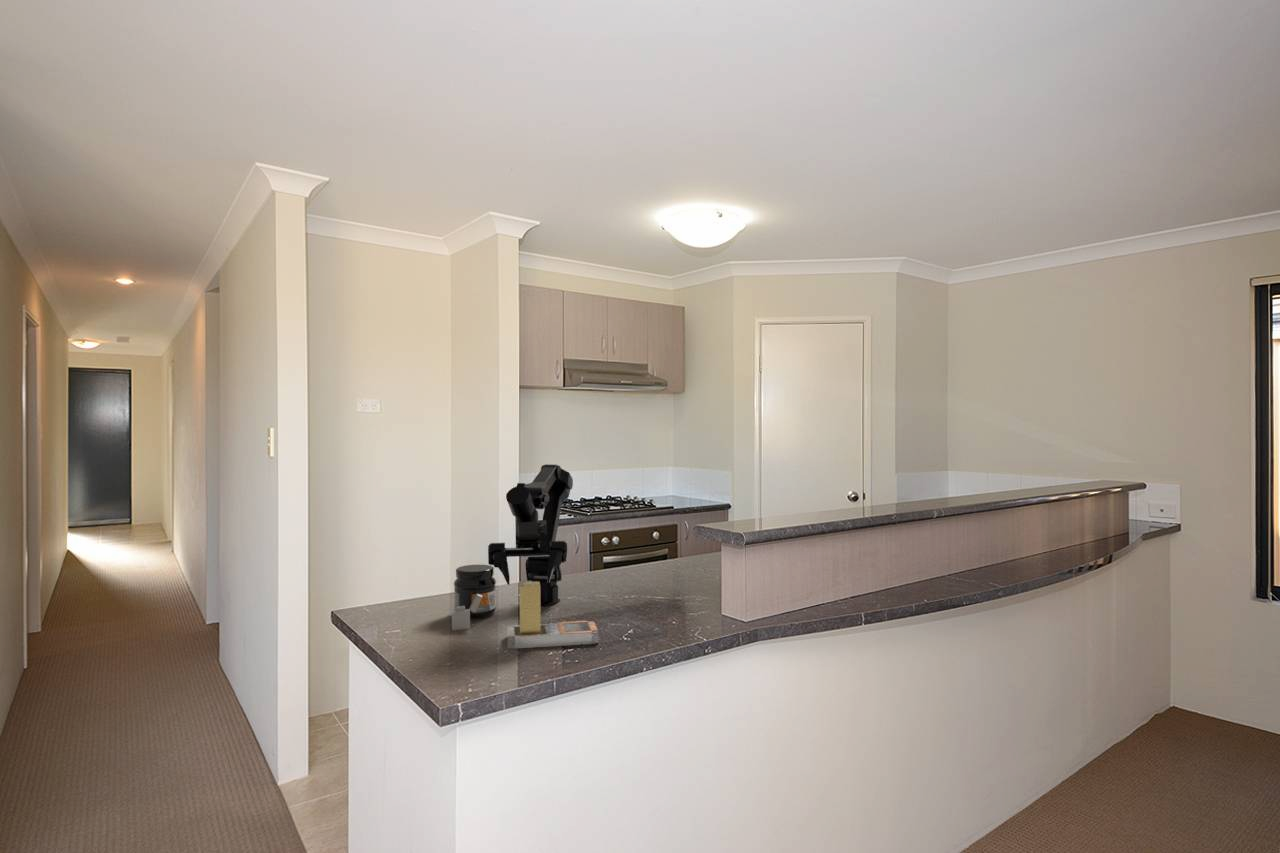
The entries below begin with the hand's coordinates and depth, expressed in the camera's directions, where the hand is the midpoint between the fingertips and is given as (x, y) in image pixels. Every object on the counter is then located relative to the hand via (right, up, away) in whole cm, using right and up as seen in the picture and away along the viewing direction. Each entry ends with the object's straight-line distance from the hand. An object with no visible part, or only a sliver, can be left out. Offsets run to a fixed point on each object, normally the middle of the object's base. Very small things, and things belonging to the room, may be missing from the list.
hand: (528, 582), depth 166 cm
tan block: (+1, -12, -5) cm, 13 cm away
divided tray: (+6, -12, -4) cm, 14 cm away
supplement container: (-16, -12, +17) cm, 26 cm away
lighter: (-16, -12, +5) cm, 20 cm away
